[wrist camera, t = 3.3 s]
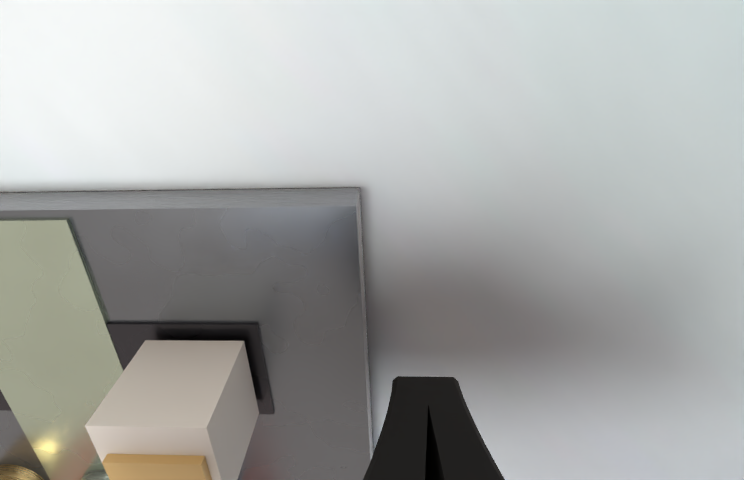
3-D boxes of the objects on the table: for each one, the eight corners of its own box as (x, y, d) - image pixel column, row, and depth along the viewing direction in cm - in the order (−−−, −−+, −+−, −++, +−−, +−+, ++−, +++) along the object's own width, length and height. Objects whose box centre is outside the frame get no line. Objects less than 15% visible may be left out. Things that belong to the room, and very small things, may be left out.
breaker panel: (359, 187, 11) (351, 233, 9) (375, 495, 16) (372, 567, 14) (-219, 196, 12) (-343, 239, 10) (-24, 486, 17) (-79, 551, 15)
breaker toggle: (244, 340, 11) (202, 436, 9) (259, 412, 12) (225, 514, 10) (145, 340, 11) (78, 434, 9) (169, 411, 13) (115, 511, 10)
